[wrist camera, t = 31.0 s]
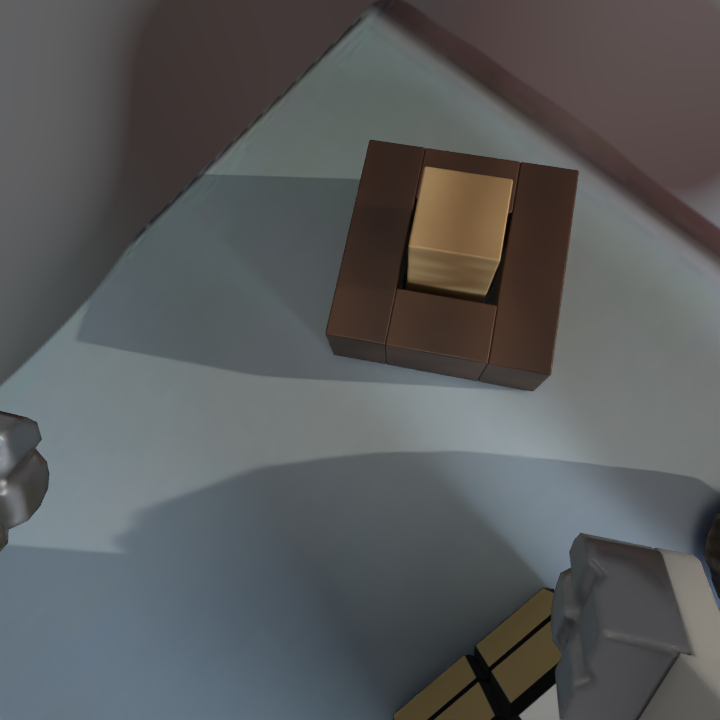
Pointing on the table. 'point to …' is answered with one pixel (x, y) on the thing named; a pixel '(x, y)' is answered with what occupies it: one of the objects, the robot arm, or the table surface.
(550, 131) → the table surface
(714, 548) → the rock
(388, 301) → the socket block
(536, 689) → the puzzle cube
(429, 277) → the peg
